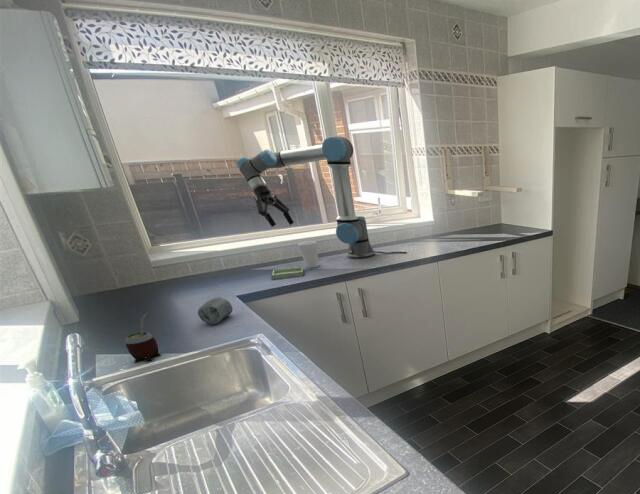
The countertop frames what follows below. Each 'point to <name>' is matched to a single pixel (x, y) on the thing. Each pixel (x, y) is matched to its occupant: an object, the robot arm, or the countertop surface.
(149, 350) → the mate gourd
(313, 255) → the foam cup
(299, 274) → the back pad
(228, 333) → the countertop surface
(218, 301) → the grey rolled towel
